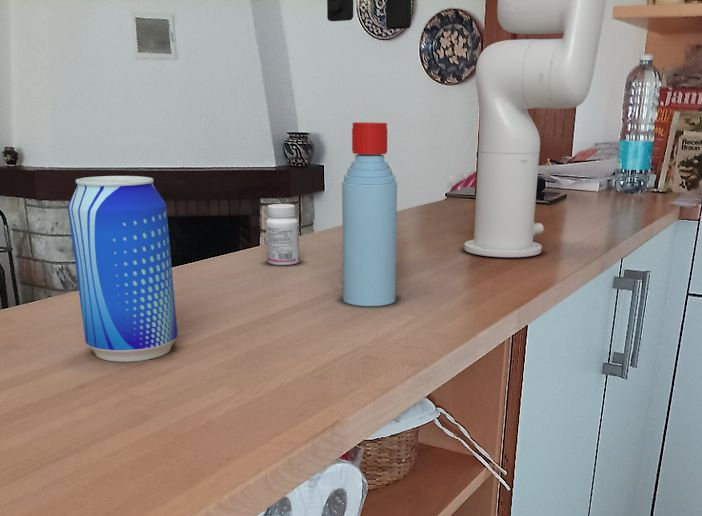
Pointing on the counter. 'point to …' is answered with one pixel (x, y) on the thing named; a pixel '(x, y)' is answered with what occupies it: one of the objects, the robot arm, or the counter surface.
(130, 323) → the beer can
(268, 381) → the counter surface
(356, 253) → the water bottle
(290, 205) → the pill bottle
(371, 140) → the cap
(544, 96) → the robot arm
